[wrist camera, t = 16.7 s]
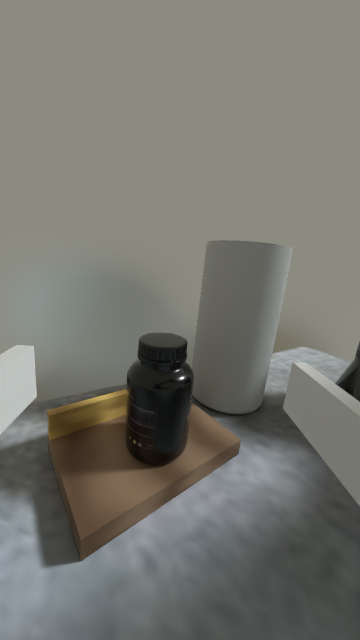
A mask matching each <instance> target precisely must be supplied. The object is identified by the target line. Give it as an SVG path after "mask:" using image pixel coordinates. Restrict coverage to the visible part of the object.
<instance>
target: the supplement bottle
mask: <svg viewBox="0 0 360 640" xmlns="http://www.w3.org/2000/svg"><path fill="white" fill-rule="evenodd" d="M186 351H187V340H186V339H185V338H183V337H181V336H179V335H175V334H170V333H149V334H146V335H143V336H141V337H140V338H139V349H138V360H136V361H135V362H134V363H133V364H132V365H131V366H130V368H129V370H128V373H127V394H126V428H125V441H126V446H127V449H128V451H129V453H130V454H131V455H132V456H133V457H134V458H135V459H137V460H138V461H140V462H143V463H146V464H150V465H162V464H167V463H169V462H172V461H174V460H175V459H177V458H178V457H179V456H180V455H181V454H182V453H183V452H184V450H185V448H186V445H187V440H188V432H189V422H190V413H191V403H192V394H193V384H194V374H193V371H192V369H191V367H190V366H189V365H188V364H187V363H186V362H185V361H186V359H187V352H186Z"/></svg>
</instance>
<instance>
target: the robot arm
mask: <svg viewBox="0 0 360 640" xmlns="http://www.w3.org/2000/svg"><path fill="white" fill-rule="evenodd" d="M35 376H36V375H35V360H34V347H33V346H23V345H17V346H15V347H13V348H11V349H9V350H7V351H6V352H4V353H2V354H0V434H1V433H2V432H3V431H4V430H5V429H6V428H7V427H8V426H9V425H10V424H11V423H12V422H13V421H14V420H15V419H16V418H17V417H18V416H19V415H20V413H21V412H22V411H23V410H24V409H25V408H26V407H27V406H28V405H29V404H30V403H31V402H32V401H33V400H34V399H35V398H36V397H37V390H36V377H35ZM283 409H284V410H285V412H286V413H287V414H288V416H289V417H290V418H291V419H292V421H293V422H294V423H295V424H296V426H297V427H298V428H299V430H300V431H301V432H302V433H303V435H304V436H305V437H306V438H307V440H308V441H309V442H310V444H311V445H312V446H313V447H314V449H315V450H316V451H317V452H318V454H319V455H320V456H321V458H322V459H323V460H324V461H325V463H326V464H327V465H328V467H329V468H330V469H331V470H332V472H333V473H334V474H335V475H336V477H337V478H338V479H339V481H340V482H341V483H342V484H343V486H344V487H345V488H346V489H347V491H348V492H349V493H350V495H351V496H352V497H353V498H354V500H355V501H356V502H357V503H358V505H359V506H360V343H359V345H358V349H357V353H356V356H355V359H354V360H353V362H352V363H351V364H350V366H349V367H348V368H347V369H346V371H345V372H344V373H343V374H342V376H341V377H340V378H339V379H338V381H337V382H336V384H335V383H333V382H332V381H331V380H329V379H328V378H326V377H325V376H324V375H322V374H321V373H320V372H318V371H317V370H315V369H314V368H313V367H311V366H310V365H309V364H307V363H297V362H293V364H292V368H291V373H290V377H289V382H288V386H287V391H286V396H285V400H284V405H283Z"/></svg>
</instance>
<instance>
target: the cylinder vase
mask: <svg viewBox="0 0 360 640" xmlns="http://www.w3.org/2000/svg"><path fill="white" fill-rule="evenodd" d="M292 252H293V248H290V247H287V246H283V245H277V244H270V243H261V242H249V241H227V240H225V241H224V240H222V241H209V242H207V245H206V254H205V262H204V270H203V279H202V287H201V296H200V304H199V313H198V320H197V329H196V338H195V345H194V354H193V362H192V371H193V374H194V384H193V394H192V395H193V396H194V397H195V398H196V399H197V400H198V401H199V402H200V403H201V404H203V405H205V406H206V407H208V408H210V409H213V410H216V411H219V412H223V413H228V414H245V413H250V412H252V411H254V410H256V409H257V408H258V407H259V406H260V405H261V403H262V400H263V395H264V390H265V385H266V380H267V375H268V370H269V365H270V360H271V355H272V350H273V346H274V341H275V335H276V331H277V326H278V321H279V316H280V310H281V306H282V301H283V296H284V291H285V286H286V281H287V276H288V271H289V266H290V261H291V256H292Z"/></svg>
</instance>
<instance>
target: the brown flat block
mask: <svg viewBox="0 0 360 640" xmlns="http://www.w3.org/2000/svg"><path fill="white" fill-rule="evenodd" d="M126 394H127V389H124V390H120V391H117V392H113V393H109V394H106V395H102V396H98V397H95V398H91V399H87V400H84V401H80V402H76V403H72V404H69V405H65V406H61V407H58V408H54V409H50V410H47V416H48V444H49V453H50V456H51V460H52V463H53V467H54V470H55V474H56V477H57V481H58V484H59V487H60V491H61V494H62V498H63V501H64V505H65V508H66V512H67V515H68V519H69V522H70V525H71V529H72V532H73V536H74V539H75V543H76V546H77V550H78V553H79V557H80V560H81V561H82V560H83V559H85V558H86V557H87V556H89V555H90V554H92V553H93V552H95V551H96V550H98V549H99V548H101V547H102V546H104V545H105V544H107V543H108V542H110V541H111V540H113V539H114V538H115V537H117V536H118V535H120V534H121V533H123V532H124V531H126V530H127V529H129V528H130V527H132V526H133V525H135V524H136V523H138V522H139V521H140V520H142V519H143V518H145V517H146V516H148V515H149V514H151V513H152V512H154V511H155V510H157V509H158V508H160V507H161V506H163V505H164V504H165V503H167V502H168V501H170V500H171V499H173V498H174V497H176V496H177V495H179V494H180V493H182V492H183V491H185V490H186V489H188V488H189V487H190V486H192V485H193V484H195V483H196V482H198V481H199V480H201V479H202V478H204V477H205V476H207V475H208V474H210V473H211V472H213V471H214V470H215V469H217V468H218V467H220V466H221V465H223V464H224V463H226V462H227V461H229V460H230V459H232V458H233V457H235V456H236V455H238V452H239V447H240V442H241V440H240V439H239V438H238V437H237V436H235V435H234V434H233V433H231V432H230V431H229V430H227V429H226V428H225V427H224V426H222V425H221V424H220V423H218V422H217V421H216V420H214V419H213V418H212V417H211V416H209V415H208V414H207V413H205V412H204V411H203V410H202V409H200V408H199V407H198V406H196V405H195V404H194V403H191V413H190V422H189V432H188V440H187V445H186V448H185V450H184V452H183V453H182V454H181V455H180V456H179V457H178V458H177V459H175V460H174V461H172V462H169V463H167V464H162V465H150V464H146V463H143V462H140V461H138V460H137V459H135V458H134V457H133V456H132V455H131V454H130V453H129V451H128V449H127V446H126V441H125V428H126Z"/></svg>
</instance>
